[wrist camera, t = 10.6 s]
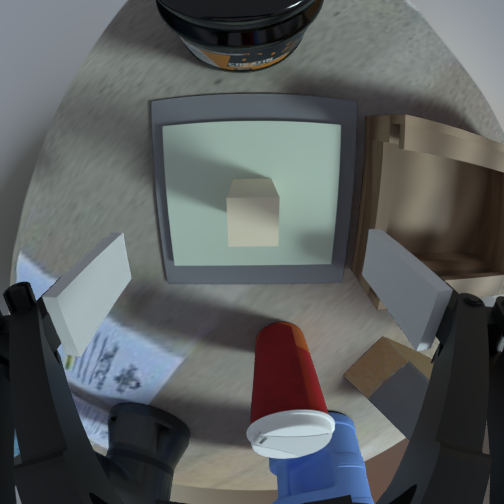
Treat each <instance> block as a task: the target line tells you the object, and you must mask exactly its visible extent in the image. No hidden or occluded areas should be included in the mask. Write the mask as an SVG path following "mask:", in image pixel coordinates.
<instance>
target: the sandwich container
mask: <svg viewBox="0 0 504 504" xmlns="http://www.w3.org/2000/svg"><path fill="white" fill-rule="evenodd" d="M431 360H432V359H431V358H429V357H427V356H425V355H423V354H421V353H420V352H417V351H415V350H413V349H411V348H408V347H406V346H404V345H402V344H399V343H397V342H395V341H393V340H391V339H388V338H386V337H384V336H383V337H381V338H380V339H379V340H378V341H377V342H376V343H375V344H374V345H373V346H372V347H371V348H370V349H369V350H368V351H367V352H366V353H365V354H364V355H363V356H362V357H361V358H360V359H359V360H358V361H357V362H356V363H355V364H354V365H353V366H352V367H351V368H350V369H349V370H348V371H347V372H346V373H345V374H344V376H345V377H346V378H347V379H348V380H349V381H350V382H351V383H352V384H353V385H354V386H355V387H356V388H357V389H358V390H359V391H360V392H361V393H362V394H363V395H364V396H365V397H366V398H367V399H368V400H369V401H370V402H371V403H372V404H373V405H374V406H375V407H376V408H377V409H378V410H379V411H380V412H381V413H382V414H384V416H385V417H386V418H387V419H388V420H389V421H390V422H391V423H392V424H393V425H394V426H395V427H396V428H397V429H398V430H399V431H400V432H401V433H402V434H404V435H405V436H406V437H407V438H408V439H409V440H410V439H411V436H412V434H413V431H414V428H415V425H416V423H417V420H418V417H419V414H420V411H421V408H422V405H423V401H424V398H425V395H426V391H427V388H428V384H429V380H430V376H431V372H432V368H433V364H434V362H433V364H432V363H430V362H431Z"/></svg>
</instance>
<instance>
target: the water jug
mask: <svg viewBox="0 0 504 504" xmlns="http://www.w3.org/2000/svg"><path fill="white" fill-rule="evenodd" d="M328 414H329V415H330V416H331V417H332V418H333V419H334V422H335V430H334V431H333V433H332V437H331V439H330V442H329V443H328V444H327V445H326V446H325V447H323V448H322V449H320V450H318V451H316V452H314V453H311V454H308V455H305V456H301V457H296V458H287V459H278V458H270V457H269V468H270V471H271V472H272V473H273V474H275V475H277V483H278V498H277V500H276V501H274V502H273V503H272V504H302V503H306V502H313V501H319V500H325V499H331V498H336V497H341V496H346V495H350V494H351V499H352V502H358V503H368V504H374V502H373V499H372V497H371V493H370V488H369V484H368V480H367V476H366V469H365V464H364V460H363V458H362V456H361V452H360V448H359V444H358V440H357V437H356V430H355V426H354V423H353V421H352V420H351V419H350V418H349V417H347V416H346V415H343V414H340V413H333V412H328Z"/></svg>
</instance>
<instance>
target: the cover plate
mask: <svg viewBox="0 0 504 504" xmlns="http://www.w3.org/2000/svg"><path fill="white" fill-rule="evenodd" d="M162 128H163V150H164V167H165V181H166V193H167V204H168V214H169V223H170V232H171V241H172V249H173V256H174V264H175V266H227V265H310V264H331V260H332V252H333V243H334V233H335V223H336V212H337V199H338V185H339V168H340V144H341V125H336V124H324V123H310V122H289V121H228V122H207V123H193V124H181V125H171V126H162Z"/></svg>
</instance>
